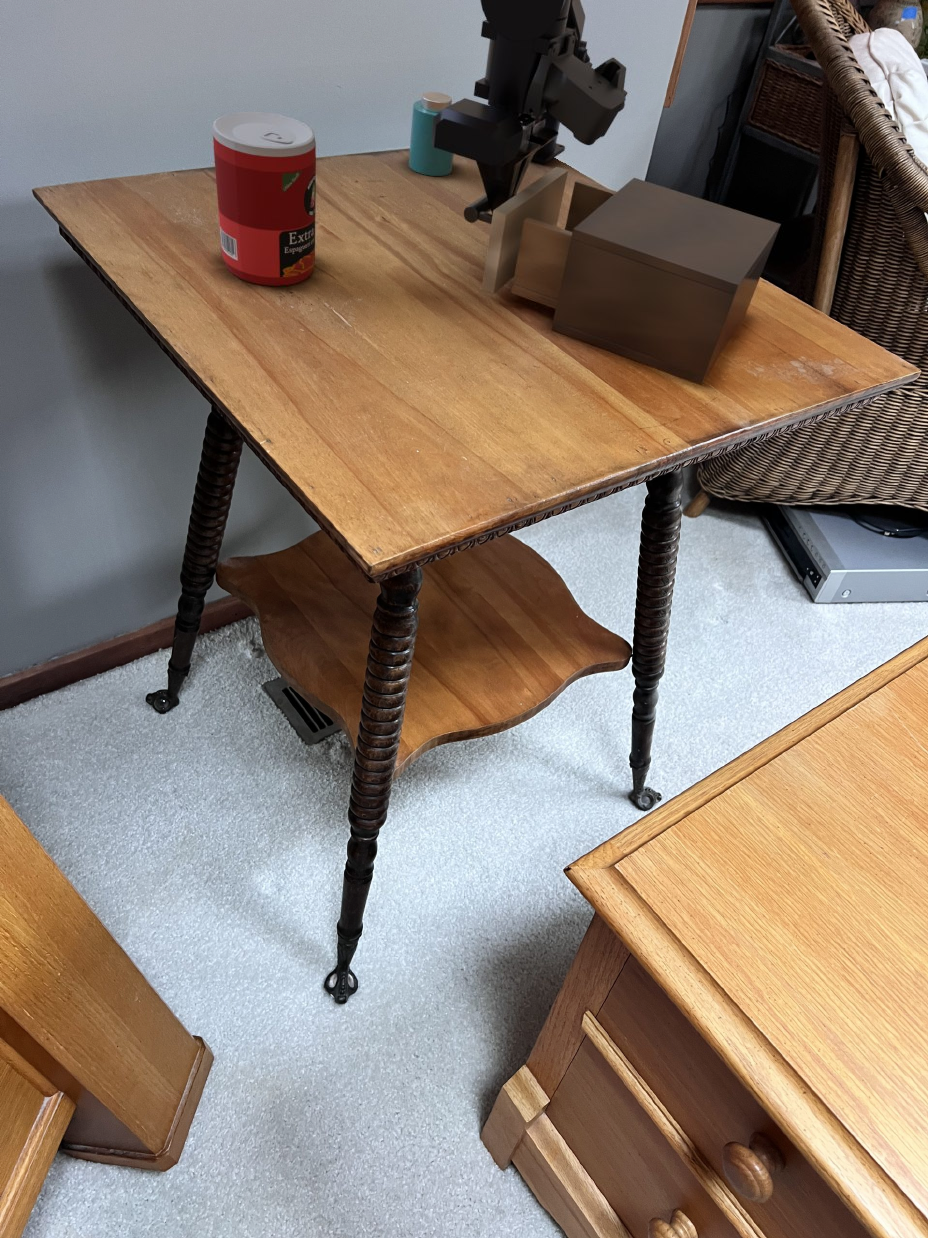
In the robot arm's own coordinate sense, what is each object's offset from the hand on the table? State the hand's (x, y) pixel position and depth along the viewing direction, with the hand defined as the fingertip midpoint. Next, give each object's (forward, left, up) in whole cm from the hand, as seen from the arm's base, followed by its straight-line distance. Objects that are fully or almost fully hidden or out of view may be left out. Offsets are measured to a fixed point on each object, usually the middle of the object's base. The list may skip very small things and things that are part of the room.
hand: (499, 216), depth 78 cm
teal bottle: (-17, -16, -4) cm, 24 cm away
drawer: (0, +6, -4) cm, 7 cm away
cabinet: (0, +16, -4) cm, 17 cm away
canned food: (+14, -15, -5) cm, 21 cm away
